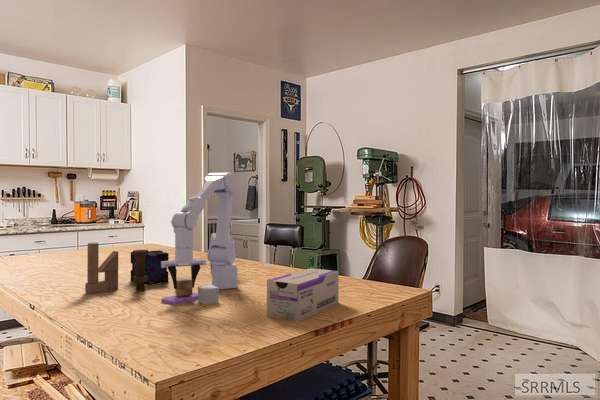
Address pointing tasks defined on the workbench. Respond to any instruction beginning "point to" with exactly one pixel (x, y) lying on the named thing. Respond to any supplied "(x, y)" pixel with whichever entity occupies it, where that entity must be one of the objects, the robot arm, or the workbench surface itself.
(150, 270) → the energy cube
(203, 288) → the grey block
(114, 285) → the wooden block
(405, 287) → the workbench surface
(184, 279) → the brown boxy piece
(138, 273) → the bolt
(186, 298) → the sponges
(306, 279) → the surgical sutures box
